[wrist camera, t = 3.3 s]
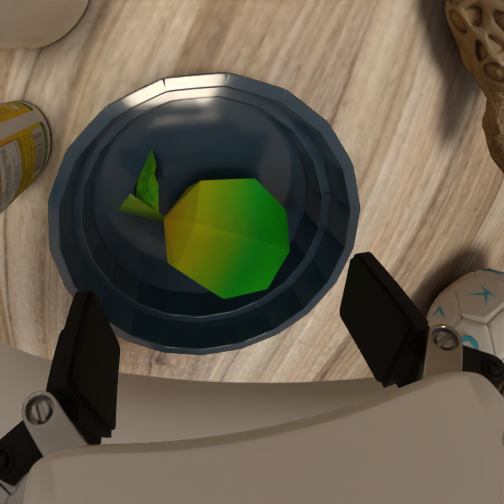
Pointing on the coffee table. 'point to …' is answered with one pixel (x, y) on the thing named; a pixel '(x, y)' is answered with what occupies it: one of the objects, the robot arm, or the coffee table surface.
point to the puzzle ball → (474, 310)
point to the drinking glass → (37, 21)
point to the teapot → (483, 60)
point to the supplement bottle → (21, 149)
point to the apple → (218, 231)
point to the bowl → (171, 189)
